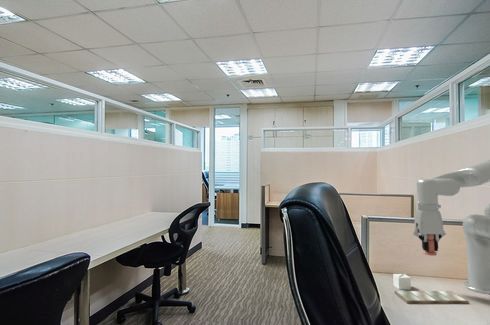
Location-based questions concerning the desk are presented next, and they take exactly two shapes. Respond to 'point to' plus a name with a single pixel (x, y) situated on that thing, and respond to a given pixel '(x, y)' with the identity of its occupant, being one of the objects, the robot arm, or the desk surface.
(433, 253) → the pawn
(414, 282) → the desk surface
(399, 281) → the die
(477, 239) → the robot arm
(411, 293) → the board
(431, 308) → the desk surface
